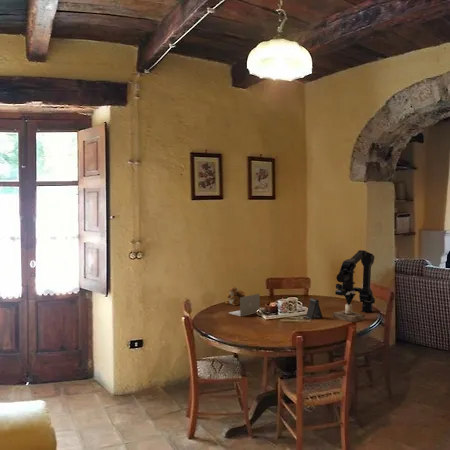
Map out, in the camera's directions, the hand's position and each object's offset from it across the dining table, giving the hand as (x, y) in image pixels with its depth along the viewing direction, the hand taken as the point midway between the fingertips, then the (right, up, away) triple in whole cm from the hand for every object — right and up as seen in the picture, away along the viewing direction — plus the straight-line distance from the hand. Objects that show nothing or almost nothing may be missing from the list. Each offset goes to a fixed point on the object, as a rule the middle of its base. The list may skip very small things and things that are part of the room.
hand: (348, 304), depth 315 cm
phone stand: (-21, -9, +5) cm, 24 cm away
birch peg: (0, -9, 0) cm, 9 cm away
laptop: (-66, -10, +21) cm, 71 cm away
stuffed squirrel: (-72, -8, +51) cm, 88 cm away
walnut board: (0, -9, 0) cm, 9 cm away
